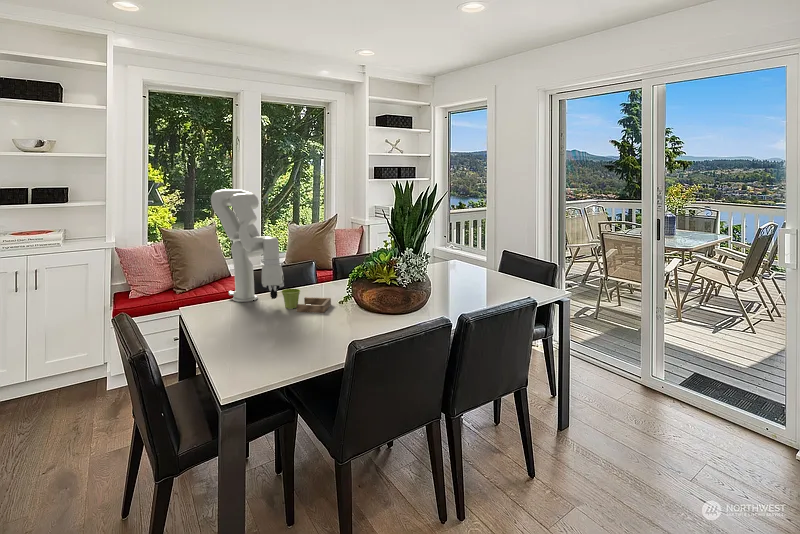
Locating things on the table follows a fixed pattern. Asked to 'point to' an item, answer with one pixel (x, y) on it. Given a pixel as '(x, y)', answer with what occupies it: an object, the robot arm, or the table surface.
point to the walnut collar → (314, 305)
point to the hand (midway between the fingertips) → (274, 298)
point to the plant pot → (291, 297)
